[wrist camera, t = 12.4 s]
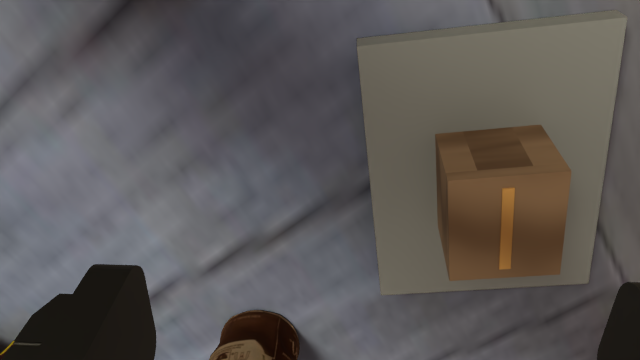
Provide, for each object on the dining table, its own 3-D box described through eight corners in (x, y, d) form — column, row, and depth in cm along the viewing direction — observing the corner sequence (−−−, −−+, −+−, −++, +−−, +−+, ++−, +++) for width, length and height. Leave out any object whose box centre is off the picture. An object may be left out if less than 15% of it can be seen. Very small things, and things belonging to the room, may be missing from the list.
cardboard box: (435, 133, 33) (448, 181, 28) (540, 124, 32) (572, 172, 28) (437, 225, 36) (449, 282, 31) (533, 218, 36) (560, 275, 31)
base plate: (380, 281, 41) (380, 295, 40) (356, 38, 32) (356, 46, 31) (580, 269, 39) (588, 283, 38) (615, 9, 30) (627, 17, 29)
